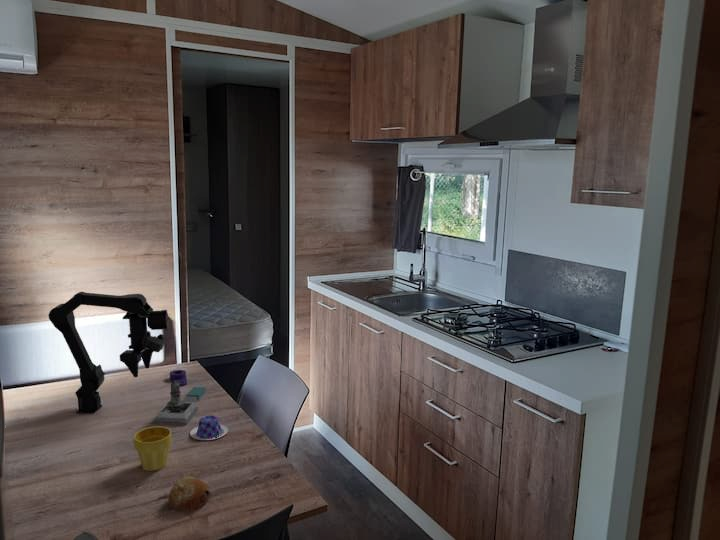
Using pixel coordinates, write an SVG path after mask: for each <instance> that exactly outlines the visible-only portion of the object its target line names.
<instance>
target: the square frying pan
mask: <svg viewBox="0 0 720 540" xmlns="http://www.w3.org/2000/svg"><path fill="white" fill-rule="evenodd" d="M206 392H207V389H206V387H205V386H202V387H201V386H193V387H192V388H191V390H189V392H187V394H186V397H184V399H182V400H183V401H184V402H185V403H184V406H183V408H182V409H181V410H184V413H179V412H170V411H171V410H170V409H169V408H168V405H167V403H168V402H169V401H167V403H165V404H164V406H162V407H161V408H160V410H158V411H157V412H156V413H157V416H156V417H155V418H154V424H164V425H165V424H166V425H188V424H189V422H190V421H191V420H192V419H193V418H194V417H195V416H196V414H197V413H198V411H199V408H198V406H196V403H197V402H198V401H199V400H200V399H201V398H202V397H203V396H204V394H205V393H206Z"/></svg>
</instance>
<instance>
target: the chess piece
mask: <svg viewBox="0 0 720 540" xmlns="http://www.w3.org/2000/svg"><path fill="white" fill-rule="evenodd" d="M180 387H181V386H180V385H179V383H178V382H176V380H174V382H172V383H170V392H169V394H170V401H167V402H168V403H167V405H168V408H169V409H170V410H171V411H170V412H179V413H184V410H181V409H182V408H183V406H184V403H185V402H184V401H183V400H184V399H181V394H182V391H181V390H180V389H181V388H180Z"/></svg>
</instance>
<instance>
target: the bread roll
mask: <svg viewBox="0 0 720 540" xmlns="http://www.w3.org/2000/svg"><path fill="white" fill-rule="evenodd" d="M210 489H211V487H210V486H209V484H208V483H207V482H204V481H203V480H201V479H200V478H196V477H193V476H190V475H188V476H184V477H182V478H179V479H178V480H177V481H176V482H175V483H174V485H173V486H172V487H171V489H170V492H169V494H168V498H167V499H168V505H169V507H170V508H172V509H173V510H175V511H179V512H185V511H186V512H187V511H191V510H196V509H198V508H201V507H202V506H205V505H206V504H207V502H209V501H208V500H209V498H210V496H211V495H212V492H210Z"/></svg>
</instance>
